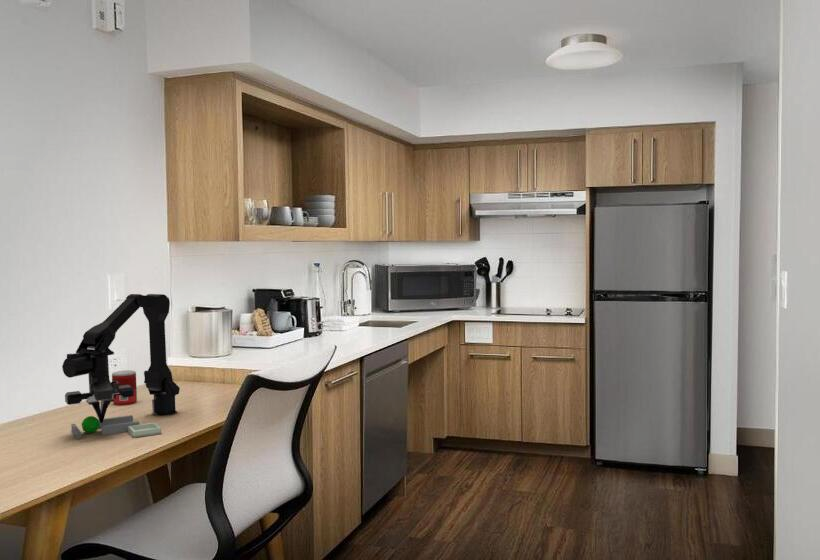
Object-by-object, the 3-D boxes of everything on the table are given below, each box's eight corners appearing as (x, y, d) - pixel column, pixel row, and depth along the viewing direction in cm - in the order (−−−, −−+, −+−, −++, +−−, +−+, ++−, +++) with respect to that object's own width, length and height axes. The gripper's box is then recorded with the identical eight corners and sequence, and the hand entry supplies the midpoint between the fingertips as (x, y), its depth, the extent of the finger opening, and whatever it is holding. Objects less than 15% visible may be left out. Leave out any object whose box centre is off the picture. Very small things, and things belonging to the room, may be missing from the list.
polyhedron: (82, 431, 227) (81, 415, 227) (99, 429, 229) (99, 414, 229) (81, 435, 223) (81, 419, 223) (99, 433, 225) (99, 417, 224)
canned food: (141, 402, 268) (140, 371, 267) (122, 406, 261) (121, 375, 260) (127, 399, 272) (126, 369, 271) (108, 404, 265) (107, 373, 264)
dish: (155, 428, 230) (155, 422, 230) (161, 433, 223) (161, 427, 223) (127, 432, 226) (127, 426, 226) (133, 438, 219) (133, 431, 219)
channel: (131, 422, 238) (131, 414, 238) (140, 430, 228) (139, 422, 228) (71, 430, 229) (71, 422, 229) (77, 439, 219) (77, 430, 218)
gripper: (68, 379, 215) (71, 433, 216) (136, 371, 225) (139, 423, 226) (63, 373, 224) (66, 425, 225) (128, 366, 234) (131, 415, 235)
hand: (101, 422), depth 228 cm, fingers closed
